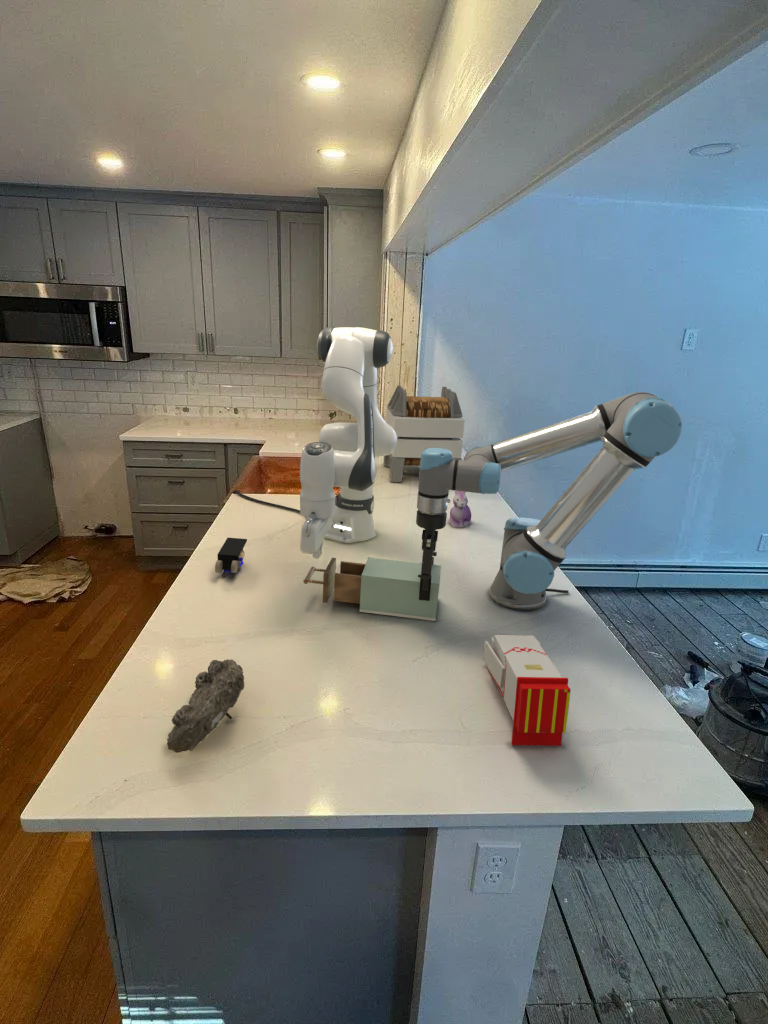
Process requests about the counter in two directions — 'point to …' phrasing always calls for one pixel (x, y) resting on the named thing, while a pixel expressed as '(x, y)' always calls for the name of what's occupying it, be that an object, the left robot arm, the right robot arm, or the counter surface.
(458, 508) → the figurine
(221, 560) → the figurine character
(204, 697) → the fossil
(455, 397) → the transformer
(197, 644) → the counter surface
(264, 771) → the counter surface
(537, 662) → the toy
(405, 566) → the cabinet
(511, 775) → the counter surface
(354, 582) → the drawer
